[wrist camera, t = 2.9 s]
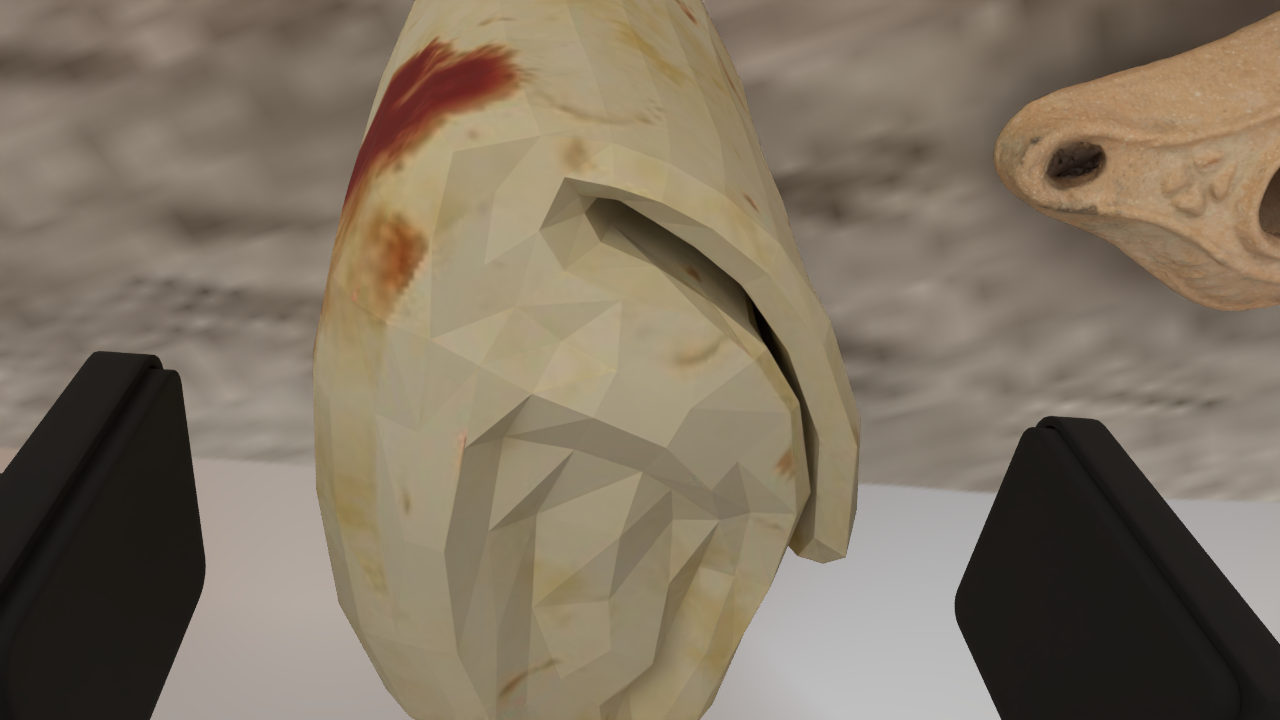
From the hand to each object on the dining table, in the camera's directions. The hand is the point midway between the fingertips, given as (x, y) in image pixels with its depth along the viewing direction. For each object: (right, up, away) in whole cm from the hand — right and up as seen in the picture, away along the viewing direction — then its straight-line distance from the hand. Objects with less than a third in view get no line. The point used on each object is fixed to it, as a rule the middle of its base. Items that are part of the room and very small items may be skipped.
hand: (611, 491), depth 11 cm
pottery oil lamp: (+16, +9, +18) cm, 25 cm away
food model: (-2, +10, +15) cm, 18 cm away
